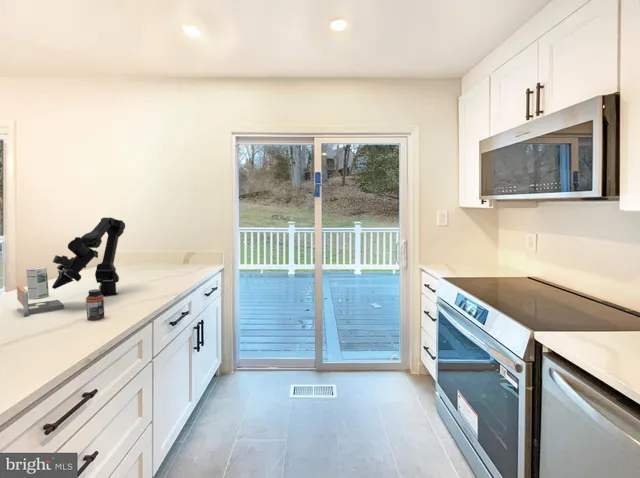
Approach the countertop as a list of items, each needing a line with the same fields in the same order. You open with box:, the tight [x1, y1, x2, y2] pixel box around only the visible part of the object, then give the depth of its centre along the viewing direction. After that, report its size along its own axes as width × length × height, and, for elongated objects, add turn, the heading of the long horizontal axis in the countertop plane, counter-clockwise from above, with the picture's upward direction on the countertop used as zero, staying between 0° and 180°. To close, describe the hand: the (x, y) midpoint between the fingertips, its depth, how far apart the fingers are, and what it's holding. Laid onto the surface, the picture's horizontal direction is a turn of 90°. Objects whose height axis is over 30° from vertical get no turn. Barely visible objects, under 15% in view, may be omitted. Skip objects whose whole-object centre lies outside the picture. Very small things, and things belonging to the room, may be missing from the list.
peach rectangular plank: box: [16, 284, 28, 306], centre depth 155 cm, size 2×14×6 cm, turn 46°
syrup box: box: [25, 266, 50, 300], centre depth 179 cm, size 6×6×14 cm
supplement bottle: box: [85, 288, 105, 321], centre depth 147 cm, size 6×6×11 cm
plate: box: [22, 290, 65, 317], centre depth 158 cm, size 14×14×10 cm
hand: (53, 288), depth 159 cm, fingers closed
